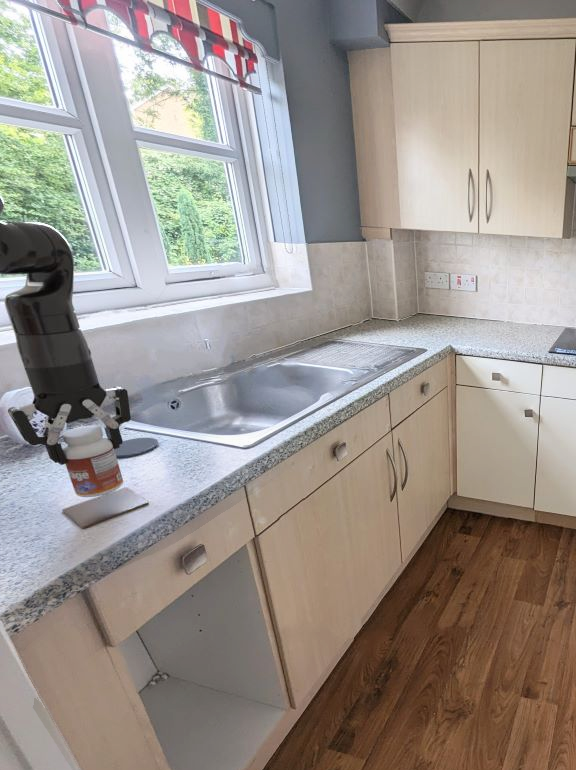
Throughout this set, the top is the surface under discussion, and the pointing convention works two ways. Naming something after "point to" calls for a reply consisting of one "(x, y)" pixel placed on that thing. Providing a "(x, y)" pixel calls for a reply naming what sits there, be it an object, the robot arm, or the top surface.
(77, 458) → the pill bottle
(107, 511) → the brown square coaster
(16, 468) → the top surface
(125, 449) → the plate
